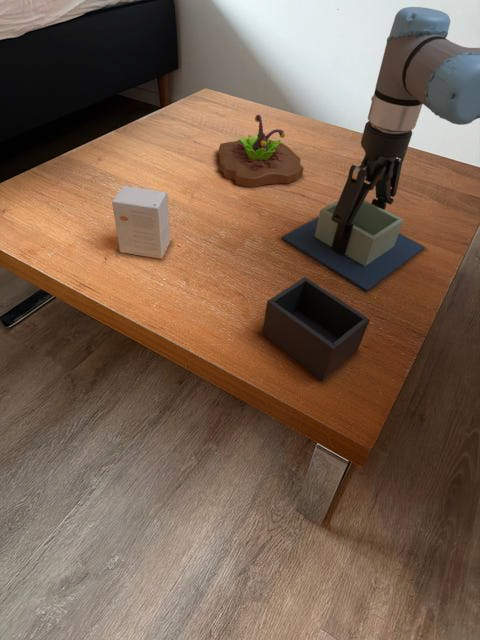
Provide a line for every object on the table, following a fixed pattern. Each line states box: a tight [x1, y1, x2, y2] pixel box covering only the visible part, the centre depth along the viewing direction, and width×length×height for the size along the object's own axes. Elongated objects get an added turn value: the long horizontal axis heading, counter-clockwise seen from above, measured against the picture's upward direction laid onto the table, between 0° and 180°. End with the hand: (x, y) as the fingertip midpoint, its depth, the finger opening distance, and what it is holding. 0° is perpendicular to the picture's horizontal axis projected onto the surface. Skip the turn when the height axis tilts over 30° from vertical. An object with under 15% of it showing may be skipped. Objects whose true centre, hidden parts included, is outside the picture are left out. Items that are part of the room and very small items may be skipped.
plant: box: [218, 114, 305, 188], centre depth 104 cm, size 20×20×11 cm
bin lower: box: [261, 276, 371, 382], centre depth 66 cm, size 12×8×7 cm
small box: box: [111, 185, 171, 260], centre depth 79 cm, size 8×6×10 cm
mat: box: [281, 216, 425, 293], centre depth 88 cm, size 20×20×1 cm
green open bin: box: [314, 199, 405, 266], centre depth 86 cm, size 12×10×6 cm
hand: (354, 240), depth 88 cm, fingers closed on green open bin, 10 cm apart
